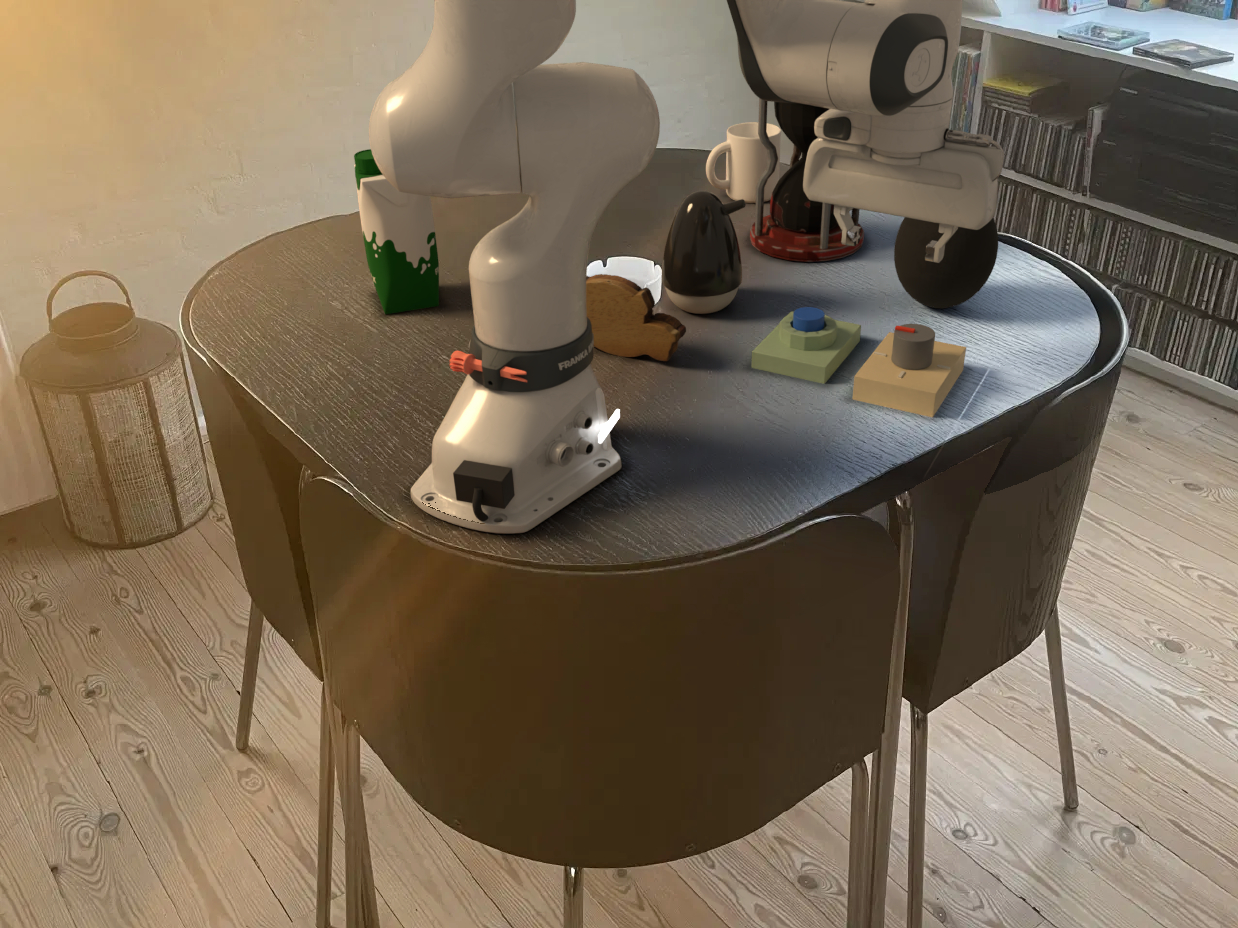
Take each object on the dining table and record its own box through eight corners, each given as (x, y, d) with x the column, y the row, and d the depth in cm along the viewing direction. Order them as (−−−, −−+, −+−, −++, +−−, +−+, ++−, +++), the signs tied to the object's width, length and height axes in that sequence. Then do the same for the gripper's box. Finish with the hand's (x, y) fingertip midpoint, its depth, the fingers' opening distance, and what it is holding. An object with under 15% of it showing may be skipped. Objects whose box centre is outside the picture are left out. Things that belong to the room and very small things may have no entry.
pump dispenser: (738, 325, 146) (741, 208, 138) (655, 320, 148) (653, 204, 140) (747, 291, 154) (750, 179, 146) (669, 287, 156) (668, 176, 148)
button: (817, 336, 135) (818, 322, 134) (788, 330, 136) (788, 316, 136) (828, 323, 138) (829, 310, 137) (799, 318, 139) (800, 304, 138)
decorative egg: (926, 277, 157) (939, 167, 149) (1008, 304, 149) (1026, 189, 141) (869, 305, 150) (879, 191, 142) (951, 335, 142) (967, 217, 134)
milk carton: (369, 292, 158) (346, 146, 147) (436, 282, 160) (418, 137, 149) (379, 319, 151) (355, 167, 140) (448, 308, 153) (430, 157, 142)
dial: (936, 356, 131) (940, 325, 129) (925, 373, 128) (929, 341, 126) (897, 348, 133) (901, 318, 131) (886, 365, 130) (889, 334, 128)
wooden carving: (692, 356, 139) (693, 278, 134) (677, 373, 136) (676, 294, 131) (570, 333, 146) (566, 257, 140) (553, 348, 142) (547, 272, 137)
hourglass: (736, 226, 174) (740, 53, 161) (840, 216, 176) (852, 44, 163) (769, 268, 161) (776, 82, 147) (880, 256, 163) (898, 72, 150)
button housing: (824, 384, 133) (826, 352, 131) (751, 368, 137) (752, 337, 134) (860, 341, 141) (862, 311, 139) (790, 327, 145) (791, 297, 143)
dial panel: (932, 417, 126) (936, 392, 124) (852, 399, 130) (854, 374, 128) (963, 370, 134) (966, 345, 133) (886, 354, 138) (889, 330, 137)
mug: (715, 210, 180) (716, 144, 174) (696, 193, 187) (696, 129, 181) (787, 199, 183) (790, 134, 177) (765, 183, 190) (767, 119, 184)
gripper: (1016, 129, 116) (996, 259, 124) (825, 103, 126) (817, 226, 133) (996, 147, 112) (977, 281, 119) (800, 118, 121) (793, 244, 129)
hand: (891, 251), depth 126 cm, fingers open, 8 cm apart
